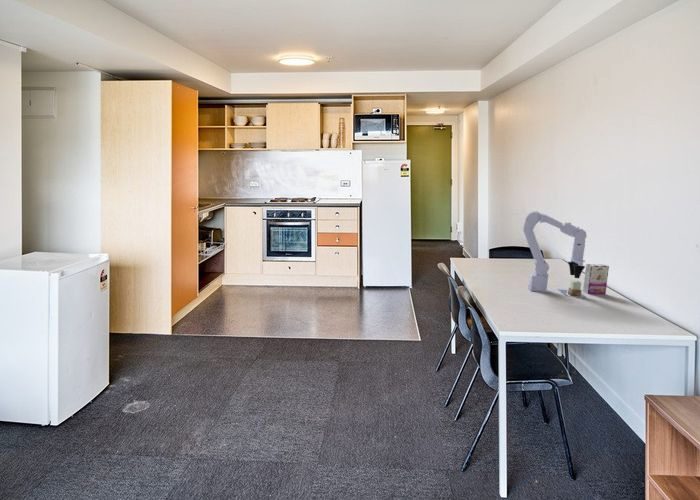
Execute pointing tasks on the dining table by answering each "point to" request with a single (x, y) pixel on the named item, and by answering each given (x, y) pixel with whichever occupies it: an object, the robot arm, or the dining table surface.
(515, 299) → the dining table surface
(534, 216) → the robot arm
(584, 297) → the blueprint mat
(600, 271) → the candy bar box
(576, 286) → the sage cube
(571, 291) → the brown block
